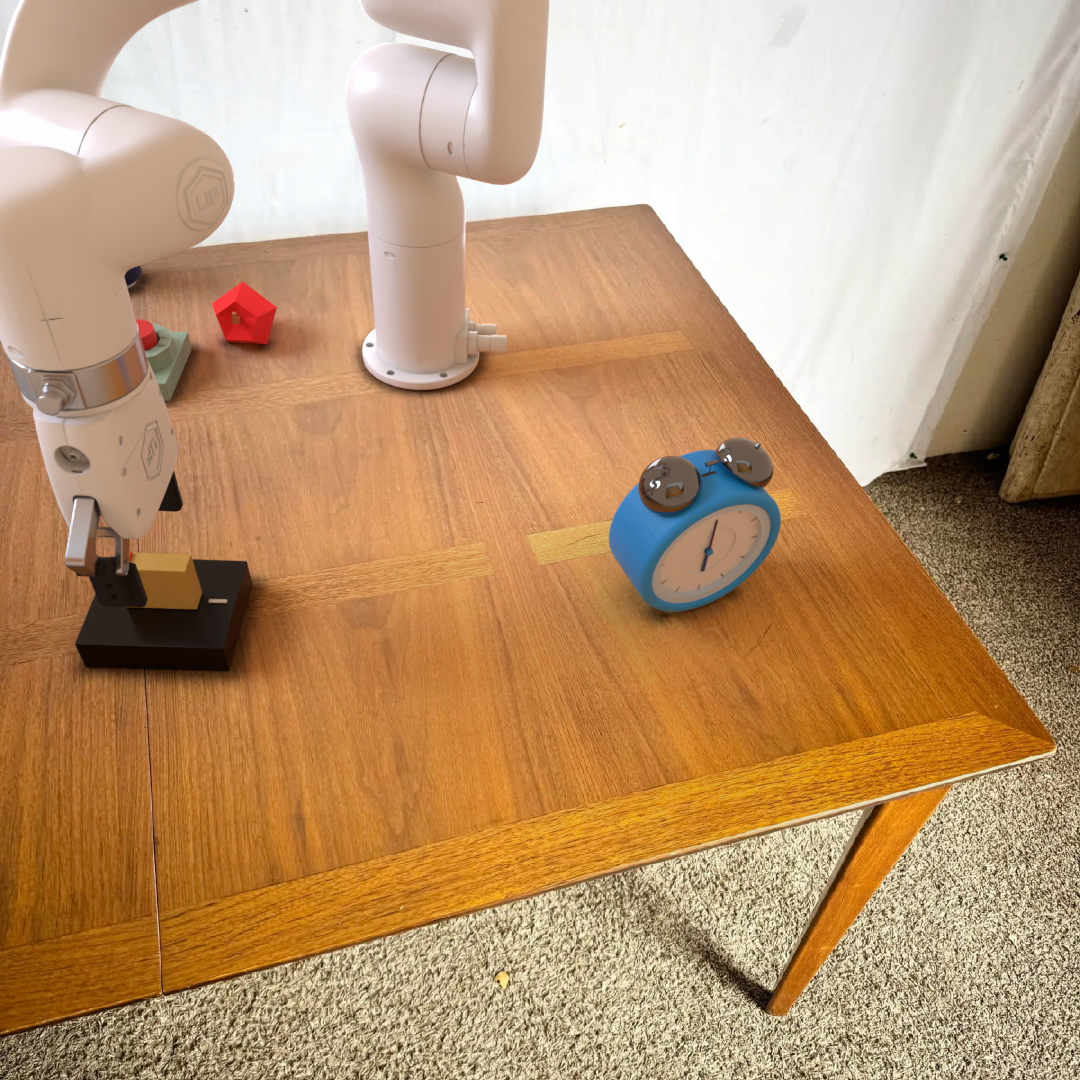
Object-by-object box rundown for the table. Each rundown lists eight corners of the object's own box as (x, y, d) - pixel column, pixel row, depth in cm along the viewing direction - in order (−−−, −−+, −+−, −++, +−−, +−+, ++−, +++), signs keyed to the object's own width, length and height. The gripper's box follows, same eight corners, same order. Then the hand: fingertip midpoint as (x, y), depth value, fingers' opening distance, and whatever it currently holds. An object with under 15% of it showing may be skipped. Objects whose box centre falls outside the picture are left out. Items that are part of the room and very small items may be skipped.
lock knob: (202, 592, 76) (190, 551, 73) (197, 610, 75) (184, 569, 71) (132, 590, 76) (116, 549, 72) (125, 607, 75) (109, 566, 71)
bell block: (125, 346, 103) (116, 314, 100) (192, 349, 103) (184, 317, 100) (99, 398, 97) (88, 365, 94) (170, 401, 97) (161, 368, 94)
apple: (225, 268, 105) (202, 281, 97) (287, 284, 106) (269, 299, 98) (217, 329, 108) (194, 346, 100) (278, 344, 108) (260, 363, 101)
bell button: (126, 332, 98) (121, 318, 97) (161, 334, 99) (157, 319, 97) (115, 353, 96) (110, 338, 95) (152, 355, 96) (148, 340, 95)
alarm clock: (631, 633, 80) (657, 504, 69) (597, 581, 83) (617, 450, 73) (762, 589, 84) (807, 460, 73) (725, 541, 88) (761, 412, 77)
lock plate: (253, 584, 81) (246, 559, 79) (229, 671, 75) (222, 647, 72) (120, 580, 80) (110, 554, 78) (85, 667, 74) (73, 642, 72)
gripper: (98, 455, 53) (164, 648, 65) (178, 289, 65) (222, 478, 77) (-42, 449, 53) (51, 644, 65) (65, 283, 65) (127, 474, 77)
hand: (144, 553), depth 71 cm, fingers open, 9 cm apart
